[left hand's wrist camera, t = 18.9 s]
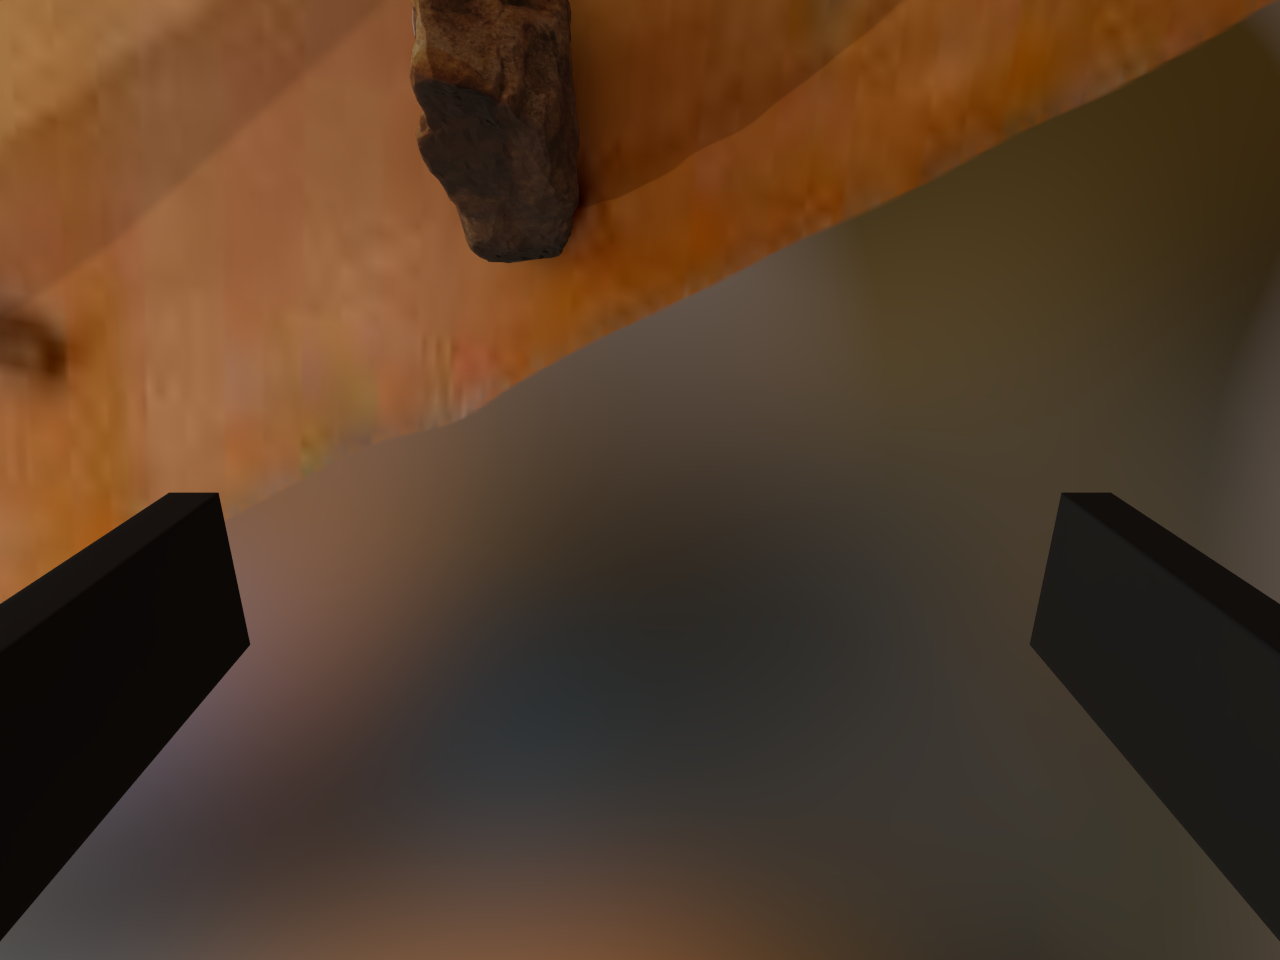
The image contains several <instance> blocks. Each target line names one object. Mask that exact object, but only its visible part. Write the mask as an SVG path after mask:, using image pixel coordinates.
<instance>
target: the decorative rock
mask: <svg viewBox="0 0 1280 960" xmlns="http://www.w3.org/2000/svg"><path fill="white" fill-rule="evenodd" d="M411 3H412V8H413V9H412V22H413V29H414V35H415V38H416V41H415V44H414V47H413V50H412V57H411V68H410V81H411V85H412V88H413V91H414V93H415V96H416V99H417V101H418V103H419V104H420V106H421V107H422V109H423V113H422V115H421V117H420V125H419V128H418V130H417V132H416V138H417V142H418V146H419V150H420V153H421V155H422V158H423V160H424V162H425V164H426V165H427V167H428V169H429V171H430V172H431V173H432V174H433V175H434V176H435V177H436V178H437V179H438V180H439V181H440V183H441V184H442V185H443V187H444V189H445V191H446V193H447V195H448V197H449V199H450V200H451V201H452V202H453V203H454V204H455V205H456V207H457V210H458V214H459V217H460V220H461V223H462V226H463V229H464V232H465V237H466V241H467V243H468V245H469V247H470V249H471V250H472V251H473V252H474V253H475V254H476V255H478V256H479V257H481V258H483V259H486V260H487V261H488V262H505V263H512V262H520V261H526V260H533V259H542V258H552V257H556V256H559V255H560V254H561V253H562V250H563V248H564V246H565V245H566V243H567V241H568V238H569V236H570V235H571V231H572V228H573V213H574V211H575V209H576V208H577V206H578V202H579V186H578V177H577V152H578V147H579V127H578V120H577V114H576V98H575V93H574V87H573V82H572V64H571V52H570V41H571V33H570V22H571V10H570V4H569V1H568V0H411Z"/></svg>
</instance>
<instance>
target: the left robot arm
mask: <svg viewBox="0 0 1280 960" xmlns="http://www.w3.org/2000/svg"><path fill="white" fill-rule="evenodd" d="M249 645H250V641H249V637H248V632H247V627H246V622H245V618H244V613H243V608H242V603H241V598H240V594H239V589H238V584H237V579H236V575H235V570H234V565H233V560H232V555H231V551H230V546H229V541H228V536H227V531H226V527H225V522H224V517H223V512H222V507H221V503H220V498H219V493H168V494H166V495H165V496H163V497H162V498H160V499H159V500H157V501H156V502H154V503H153V504H151V505H150V506H148V507H147V508H145V509H144V510H142V511H141V512H139V513H138V514H136V515H135V516H133V517H132V518H130V519H129V520H127V521H126V522H124V523H122V524H121V525H119V526H118V527H116V528H115V529H113V530H112V531H110V532H109V533H107V534H106V535H104V536H103V537H101V538H100V539H98V540H97V541H95V542H94V543H92V544H91V545H89V546H88V547H86V548H85V549H83V550H82V551H80V552H79V553H77V554H75V555H74V556H72V557H71V558H69V559H68V560H66V561H65V562H63V563H62V564H60V565H59V566H57V567H56V568H54V569H53V570H51V571H50V572H48V573H47V574H45V575H44V576H42V577H41V578H39V579H38V580H36V581H35V582H33V583H31V584H30V585H28V586H27V587H25V588H24V589H22V590H21V591H19V592H18V593H16V594H15V595H13V596H12V597H10V598H9V599H7V600H6V601H4V602H3V603H1V604H0V941H1V940H2V939H3V937H4V936H5V935H6V934H7V932H8V931H9V930H10V929H11V928H12V927H13V925H14V924H15V923H16V922H17V921H18V919H19V918H20V917H21V916H22V915H23V914H24V912H25V911H26V910H27V909H28V908H29V906H30V905H31V904H32V903H33V902H34V901H35V899H36V898H37V897H38V896H39V895H40V893H41V892H42V891H43V890H44V889H45V887H46V886H47V885H48V884H49V883H50V882H51V880H52V879H53V878H54V877H55V876H56V874H57V873H58V872H59V871H60V870H61V869H62V867H63V866H64V865H65V864H66V863H67V861H68V860H69V859H70V858H71V857H72V855H73V854H74V853H75V852H76V851H77V850H78V848H79V847H80V846H81V845H82V844H83V842H84V841H85V840H86V839H87V838H88V836H89V835H90V834H91V833H92V832H93V831H94V829H95V828H96V827H97V826H98V825H99V823H100V822H101V821H102V820H103V819H104V817H105V816H106V815H107V814H108V813H109V812H110V810H111V809H112V808H113V807H114V806H115V804H116V803H117V802H118V801H119V800H120V798H121V797H122V796H123V795H124V794H125V793H126V791H127V790H128V789H129V788H130V787H131V785H132V784H133V783H134V782H135V781H136V780H137V778H138V777H139V776H140V775H141V774H142V772H143V771H144V770H145V769H146V768H147V766H148V765H149V764H150V763H151V762H152V761H153V759H154V758H155V757H156V756H157V755H158V753H159V752H160V751H161V750H162V749H163V747H164V746H165V745H166V744H167V743H168V742H169V740H170V739H171V738H172V737H173V736H174V734H175V733H176V732H177V731H178V730H179V728H180V727H181V726H182V725H183V724H184V723H185V721H186V720H187V719H188V718H189V717H190V715H191V714H192V713H193V712H194V711H195V710H196V708H197V707H198V706H199V705H200V704H201V702H202V701H203V700H204V699H205V698H206V696H207V695H208V694H209V693H210V692H211V691H212V689H213V688H214V687H215V686H216V685H217V683H218V682H219V681H220V680H221V679H222V677H223V676H224V675H225V674H226V673H227V672H228V670H229V669H230V668H231V667H232V666H233V664H234V663H235V662H236V661H237V660H238V659H239V657H240V656H241V655H242V654H243V653H244V651H245V650H246V649H247V648H248V647H249ZM1030 645H1031V647H1032V648H1033V649H1034V650H1035V651H1036V653H1037V654H1038V655H1039V656H1040V657H1041V658H1042V660H1043V661H1044V662H1045V663H1046V664H1047V666H1048V667H1049V668H1050V669H1051V670H1052V672H1053V673H1054V674H1055V675H1056V676H1057V677H1058V679H1059V680H1060V681H1061V682H1062V683H1063V685H1064V686H1065V687H1066V688H1067V689H1068V691H1069V692H1070V693H1071V694H1072V695H1073V696H1074V698H1075V699H1076V700H1077V701H1078V702H1079V704H1080V705H1081V706H1082V707H1083V708H1084V710H1085V711H1086V712H1087V713H1088V714H1089V715H1090V717H1091V718H1092V719H1093V720H1094V721H1095V723H1096V724H1097V725H1098V726H1099V727H1100V728H1101V730H1102V731H1103V732H1104V733H1105V734H1106V736H1107V737H1108V738H1109V739H1110V740H1111V741H1112V743H1113V744H1114V745H1115V746H1116V747H1117V749H1118V750H1119V751H1120V752H1121V753H1122V755H1123V756H1124V757H1125V758H1126V759H1127V761H1128V762H1129V763H1130V764H1131V765H1132V766H1133V768H1134V769H1135V770H1136V771H1137V772H1138V774H1139V775H1140V776H1141V777H1142V778H1143V779H1144V781H1145V782H1146V783H1147V784H1148V785H1149V787H1150V788H1151V789H1152V790H1153V791H1154V793H1155V794H1156V795H1157V796H1158V797H1159V799H1160V800H1161V801H1162V802H1163V803H1164V804H1165V806H1166V807H1167V808H1168V809H1169V810H1170V812H1171V813H1172V814H1173V815H1174V816H1175V817H1176V819H1177V820H1178V821H1179V822H1180V823H1181V825H1182V826H1183V827H1184V828H1185V829H1186V831H1187V832H1188V833H1189V834H1190V835H1191V836H1192V838H1193V839H1194V840H1195V841H1196V842H1197V844H1198V845H1199V846H1200V847H1201V848H1202V850H1203V851H1204V852H1205V853H1206V854H1207V855H1208V857H1209V858H1210V859H1211V860H1212V861H1213V863H1214V864H1215V865H1216V866H1217V867H1218V869H1219V870H1220V871H1221V872H1222V873H1223V874H1224V876H1225V877H1226V878H1227V879H1228V880H1229V881H1230V883H1231V884H1232V885H1233V886H1234V887H1235V889H1236V890H1237V891H1238V892H1239V893H1240V895H1241V896H1242V897H1243V898H1244V899H1245V901H1246V902H1247V903H1248V904H1249V905H1250V906H1251V908H1252V909H1253V910H1254V911H1255V912H1256V914H1257V915H1258V916H1259V917H1260V918H1261V920H1262V921H1263V922H1264V923H1265V924H1266V925H1267V927H1268V928H1269V929H1270V930H1271V931H1272V933H1273V934H1274V935H1275V936H1276V937H1277V939H1278V940H1279V941H1280V604H1279V603H1277V602H1276V601H1274V600H1273V599H1271V598H1270V597H1268V596H1267V595H1265V594H1264V593H1262V592H1261V591H1259V590H1258V589H1256V588H1255V587H1253V586H1251V585H1250V584H1249V583H1247V582H1245V581H1244V580H1242V579H1241V578H1239V577H1238V576H1236V575H1235V574H1233V573H1232V572H1230V571H1229V570H1227V569H1226V568H1224V567H1223V566H1221V565H1220V564H1218V563H1217V562H1215V561H1214V560H1212V559H1210V558H1209V557H1208V556H1206V555H1205V554H1203V553H1201V552H1200V551H1198V550H1197V549H1195V548H1194V547H1192V546H1191V545H1189V544H1188V543H1186V542H1185V541H1183V540H1182V539H1180V538H1179V537H1177V536H1176V535H1174V534H1173V533H1171V532H1170V531H1168V530H1167V529H1165V528H1164V527H1162V526H1161V525H1159V524H1158V523H1156V522H1154V521H1153V520H1151V519H1150V518H1148V517H1147V516H1145V515H1144V514H1142V513H1141V512H1139V511H1138V510H1136V509H1135V508H1133V507H1132V506H1130V505H1129V504H1127V503H1126V502H1124V501H1123V500H1121V499H1120V498H1118V497H1117V496H1115V495H1113V494H1112V493H1061V498H1060V503H1059V508H1058V512H1057V517H1056V522H1055V527H1054V531H1053V536H1052V541H1051V546H1050V551H1049V555H1048V560H1047V565H1046V570H1045V574H1044V579H1043V584H1042V589H1041V594H1040V598H1039V603H1038V608H1037V613H1036V617H1035V622H1034V627H1033V632H1032V637H1031V642H1030Z"/></svg>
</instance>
